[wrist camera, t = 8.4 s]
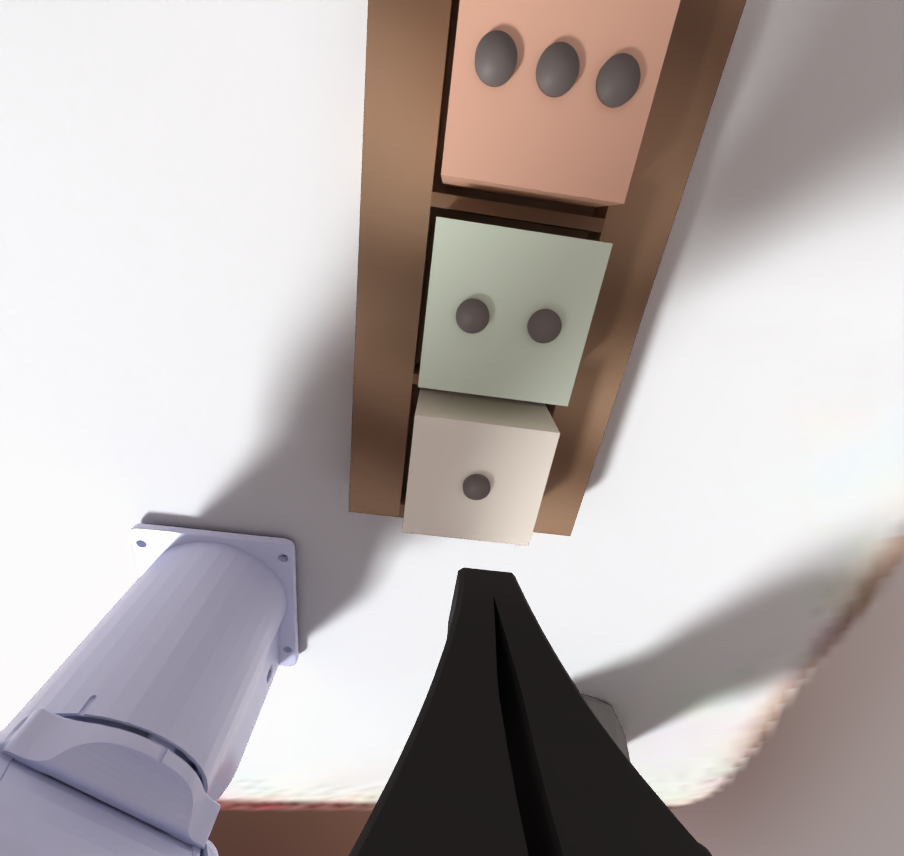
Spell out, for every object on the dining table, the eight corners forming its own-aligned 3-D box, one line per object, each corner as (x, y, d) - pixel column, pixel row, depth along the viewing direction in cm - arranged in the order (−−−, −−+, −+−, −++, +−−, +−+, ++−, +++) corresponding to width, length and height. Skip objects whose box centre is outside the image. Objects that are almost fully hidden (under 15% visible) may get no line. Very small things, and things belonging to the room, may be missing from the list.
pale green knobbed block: (548, 375, 17) (569, 408, 14) (423, 358, 17) (417, 389, 13) (581, 240, 15) (615, 244, 12) (439, 218, 14) (436, 216, 11)
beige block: (517, 498, 19) (529, 549, 16) (409, 486, 19) (401, 535, 16) (542, 398, 17) (561, 435, 14) (421, 382, 17) (414, 417, 14)
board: (559, 509, 21) (570, 536, 19) (357, 486, 20) (348, 511, 18) (714, 0, 13) (758, -37, 11) (384, -63, 12) (372, -114, 10)
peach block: (589, 208, 14) (627, 203, 11) (443, 185, 14) (440, 173, 11) (637, 14, 12) (700, -58, 9) (465, -18, 12) (470, -104, 9)
